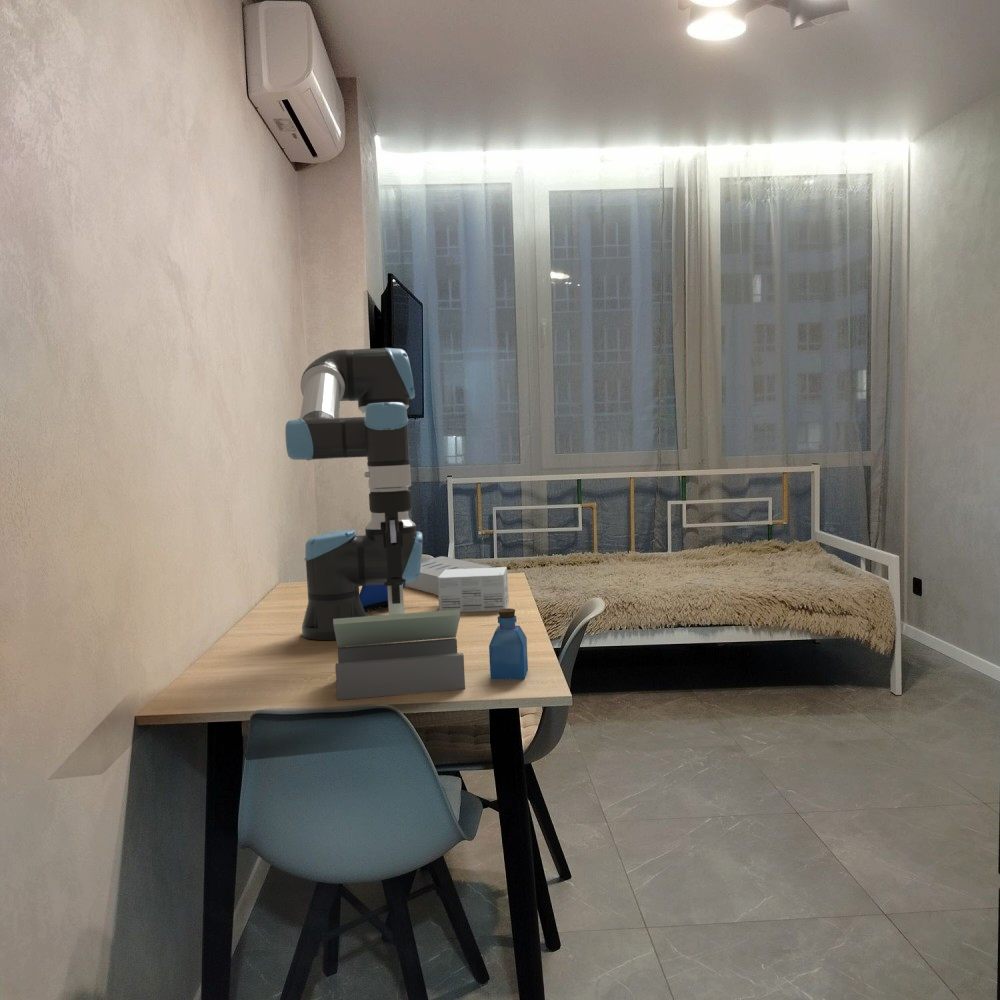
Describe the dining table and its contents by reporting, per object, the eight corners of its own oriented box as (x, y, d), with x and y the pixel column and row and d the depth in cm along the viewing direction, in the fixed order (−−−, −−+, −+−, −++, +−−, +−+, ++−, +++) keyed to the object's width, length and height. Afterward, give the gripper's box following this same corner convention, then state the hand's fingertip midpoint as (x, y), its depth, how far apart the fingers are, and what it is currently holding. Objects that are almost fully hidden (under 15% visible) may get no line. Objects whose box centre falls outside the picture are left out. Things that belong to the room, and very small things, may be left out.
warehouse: (401, 586, 260) (399, 561, 259) (442, 580, 268) (441, 555, 267) (450, 600, 235) (448, 572, 234) (494, 592, 242) (493, 566, 242)
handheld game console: (378, 601, 237) (376, 567, 236) (412, 606, 228) (410, 571, 227) (333, 611, 225) (331, 576, 224) (366, 617, 216) (364, 580, 216)
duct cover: (337, 647, 160) (337, 642, 160) (455, 637, 163) (455, 632, 164) (333, 624, 148) (333, 618, 149) (460, 614, 151) (459, 609, 152)
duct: (339, 679, 160) (337, 647, 160) (457, 669, 163) (455, 638, 163) (337, 700, 147) (335, 665, 147) (465, 688, 150) (463, 655, 150)
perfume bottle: (524, 679, 155) (521, 613, 154) (490, 679, 156) (487, 614, 155) (527, 669, 161) (525, 606, 160) (495, 670, 162) (492, 607, 161)
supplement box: (509, 601, 228) (507, 566, 228) (505, 611, 215) (504, 574, 214) (446, 602, 230) (444, 568, 229) (438, 613, 217) (437, 576, 216)
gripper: (368, 489, 159) (375, 615, 161) (368, 492, 146) (376, 629, 148) (409, 487, 160) (415, 612, 162) (412, 490, 147) (420, 626, 149)
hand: (396, 620), depth 155 cm, fingers closed
